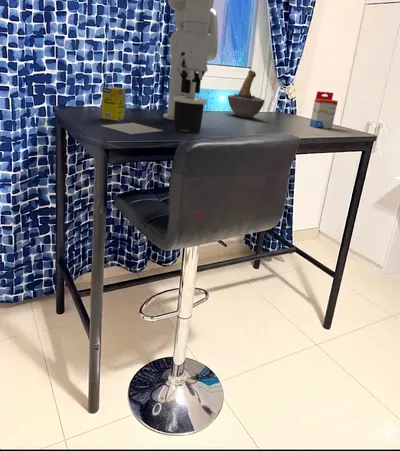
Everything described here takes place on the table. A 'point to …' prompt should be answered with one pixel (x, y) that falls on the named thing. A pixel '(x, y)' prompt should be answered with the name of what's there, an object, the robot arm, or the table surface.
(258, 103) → the mortar and pestle
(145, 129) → the mat
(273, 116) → the table surface
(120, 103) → the supplement box
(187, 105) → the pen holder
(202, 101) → the lid
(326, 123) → the ink box
